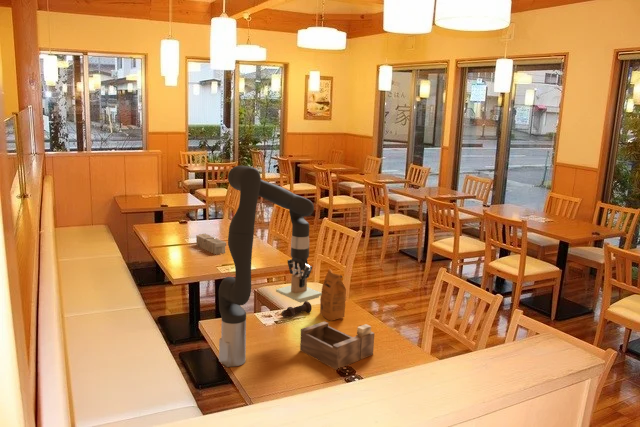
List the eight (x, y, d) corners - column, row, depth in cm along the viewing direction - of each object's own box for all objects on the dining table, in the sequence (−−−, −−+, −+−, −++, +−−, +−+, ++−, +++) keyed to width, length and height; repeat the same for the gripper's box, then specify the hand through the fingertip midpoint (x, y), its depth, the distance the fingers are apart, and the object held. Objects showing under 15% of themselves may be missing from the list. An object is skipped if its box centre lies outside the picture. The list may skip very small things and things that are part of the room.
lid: (298, 303, 219) (299, 282, 217) (275, 293, 229) (276, 273, 227) (321, 296, 227) (322, 276, 225) (298, 287, 238) (299, 268, 236)
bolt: (281, 321, 254) (307, 313, 263) (287, 319, 250) (313, 311, 259) (278, 309, 255) (304, 301, 264) (283, 307, 251) (309, 299, 261)
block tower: (195, 246, 373) (215, 255, 350) (195, 234, 371) (215, 242, 349) (205, 245, 377) (226, 253, 355) (205, 233, 376) (226, 241, 353)
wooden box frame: (336, 369, 206) (337, 347, 204) (300, 350, 221) (300, 329, 219) (373, 354, 220) (374, 333, 218) (337, 336, 235) (338, 316, 233)
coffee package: (335, 310, 265) (337, 266, 261) (347, 319, 254) (349, 274, 250) (316, 312, 261) (318, 268, 257) (328, 322, 250) (330, 276, 246)
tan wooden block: (362, 336, 214) (362, 329, 213) (356, 334, 216) (357, 327, 215) (370, 333, 217) (371, 326, 217) (365, 330, 219) (365, 324, 219)
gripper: (318, 248, 221) (316, 288, 225) (296, 241, 231) (294, 279, 235) (304, 251, 216) (303, 292, 220) (282, 243, 226) (281, 283, 230)
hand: (298, 285), depth 227 cm, fingers closed on lid, 3 cm apart
